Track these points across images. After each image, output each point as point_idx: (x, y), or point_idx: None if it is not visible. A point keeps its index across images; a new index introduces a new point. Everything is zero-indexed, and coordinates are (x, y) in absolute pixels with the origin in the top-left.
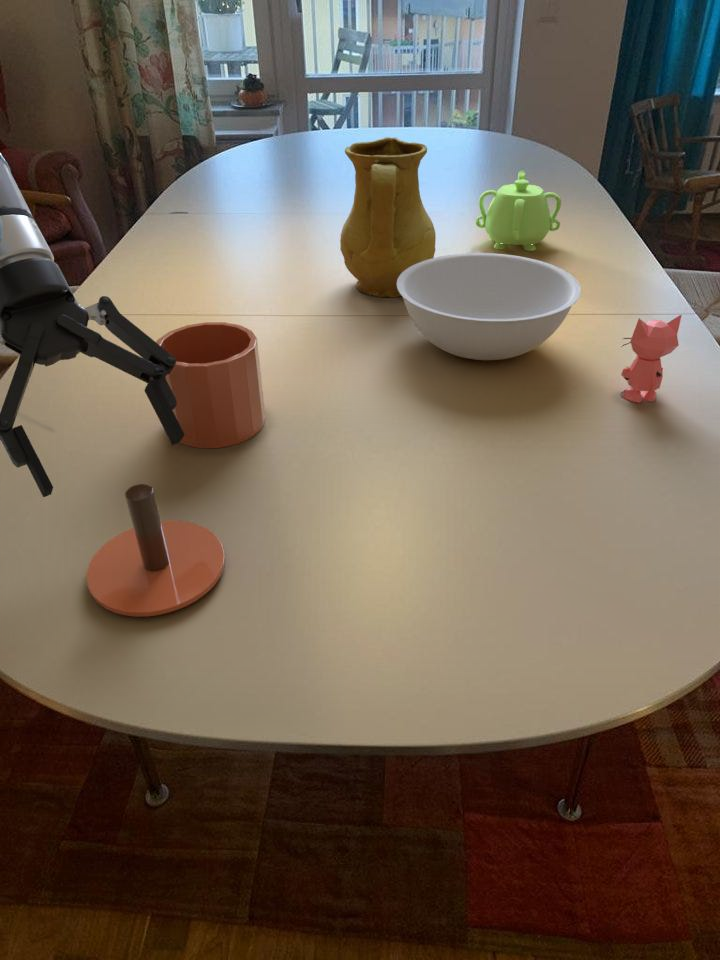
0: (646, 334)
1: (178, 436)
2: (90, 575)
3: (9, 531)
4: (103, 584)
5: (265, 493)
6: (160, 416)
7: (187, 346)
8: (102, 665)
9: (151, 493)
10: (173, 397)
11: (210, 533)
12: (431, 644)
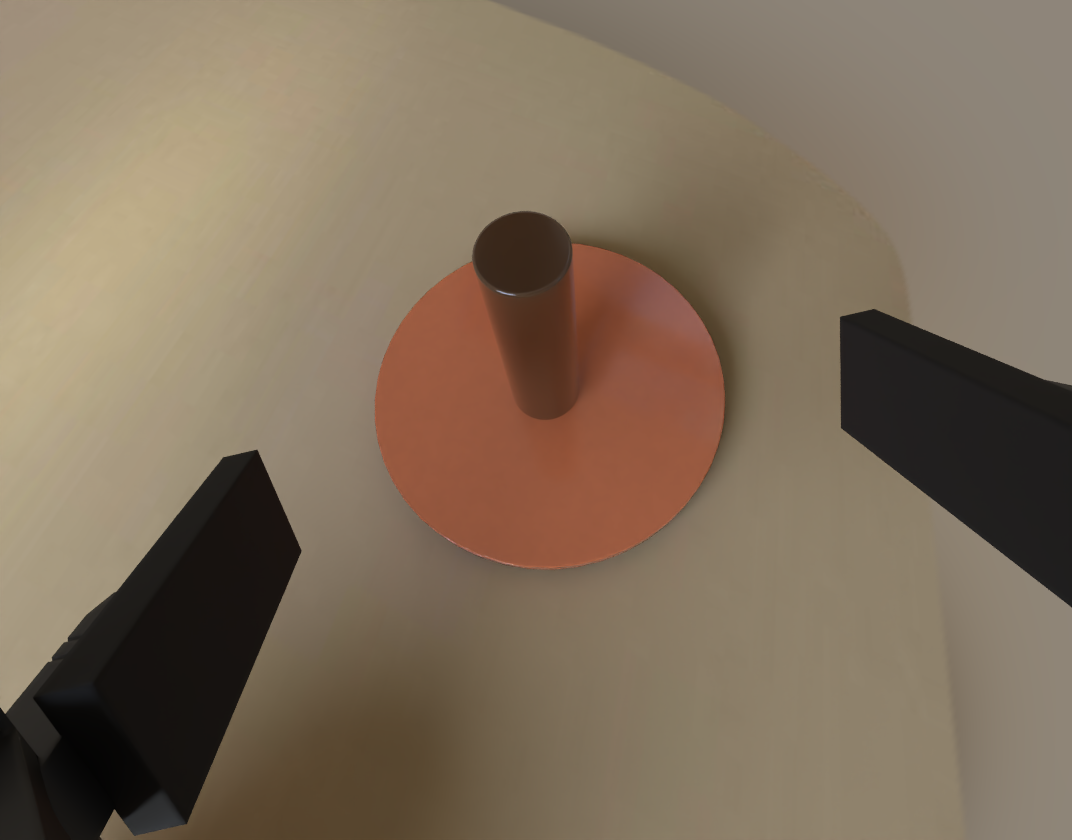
0: None
1: (253, 454)
2: (713, 415)
3: (959, 812)
4: (685, 371)
5: None
6: (244, 618)
7: None
8: (715, 198)
9: (485, 229)
10: (85, 626)
11: (384, 438)
12: (192, 50)
